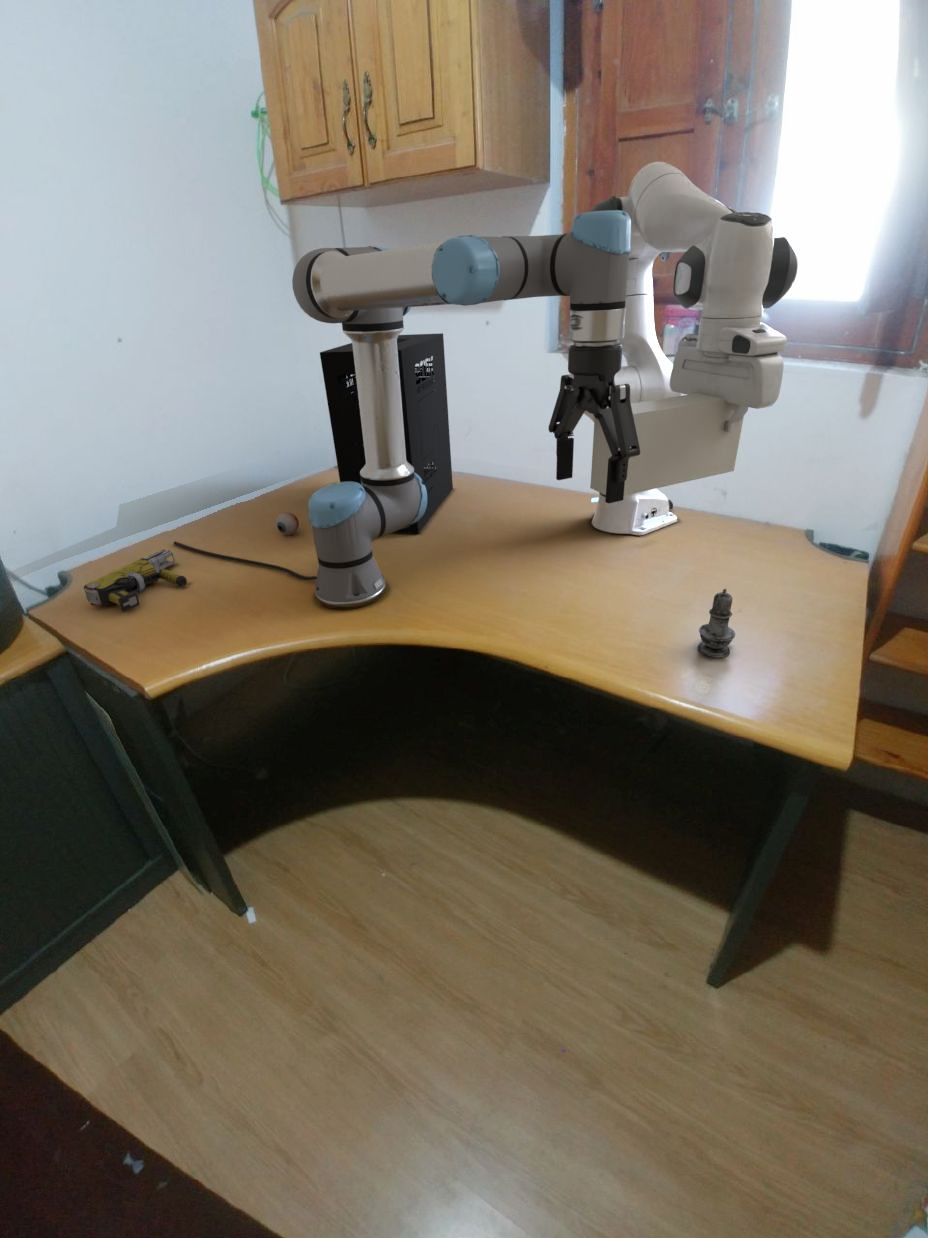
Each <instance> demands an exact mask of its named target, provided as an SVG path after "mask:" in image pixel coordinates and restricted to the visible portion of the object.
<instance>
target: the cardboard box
mask: <svg viewBox="0 0 928 1238" xmlns="http://www.w3.org/2000/svg"><path fill="white" fill-rule="evenodd" d="M397 350H398V362H399V375H400V387H401V400H402V412H403V425H404V437H405V450H406V461H407V462H408V463H409V464H411V465H412V466H413V467H414V472H415V473H416V474H417V475H419V476H420V478H421V479H422V485H425V487H426V491H427V507H426V510H425V512H424V514H423V516H422V517H421V518H420V519H419V520H418V521H417V522H415V523H413V524H411V525H410V526H408V527H407V528H404V529H399V530H397V531H395V532H392V533H393V534H413V535H415V534H416V535H418V534H420V533H421V532H422V530H423V529H424V527H425V526H427V523H428V522H429V521H430V520H431V518H432V517H433V515H434V514H435V513H436V512H437V510H438V509H439V508H440V507H441V505H442V504H443V502H444V501H445V500H446V499H447V498H448V496H449V495H450V494H451V492H452V491H453V489H454V484H453V468H452V454H451V453H452V451H451V438H450V437H451V435H450V420H449V406H448V391H447V390H448V388H447V374H446V357H445V341H444V333H443V332H442V333H415V334H413V333H412V334H400V335H399V336H398V338H397ZM319 358H320V364H321V370H322V377H323V383H324V388H325V396H326V401H327V408H328V415H329V421H330V427H331V434H332V440H333V446H334V453H335V458H336V459H335V460H336V465H337V471H338V478H339V483H340V482H346V481H352V482H357V483H359V484H361V478H360V470H361V469H362V468H363V467H364V466H365V464H366V459H365V450H364V441H363V433H362V424H361V415H360V407H359V398H358V389H357V381H356V372H355V363H354V354H353V346H352V342H349V343H347V344H343V345H339V346H336V347H333V348H330V349H326V350H323V351H320V352H319ZM426 360H427V361H426ZM421 363H422V365H421ZM392 533H391V534H392Z"/></svg>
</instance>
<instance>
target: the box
mask: <svg viewBox="0 0 928 1238" xmlns="http://www.w3.org/2000/svg"><path fill="white" fill-rule="evenodd" d="M631 408H632V413H633V418H634V423H635V427H636V432H637V437H638V442H639V447H640V455H639V456H634V457H630V458H629V460H628V470H627V479H626V481H625V486H624V495H629V494H633V493H638V492H642V491H647V490H651V489H659V488H664V487H669V486H673V485H679V484H682V483H687V482H690V481H695V480H700V479H705V478H709V477H714V476H717V475H723V474H727V473H732V472H734V471H735V467H736V463H737V456H738V450H739V445H740V440H741V434H742V428H743V423H744V418H745V415H744V416H743V418H742V419H741V420H740V422H739V427H738V431H737V432H733V433H730V432H726V431H724V423H725V420H729V419H730V418H731V416H732V414H733V413H734V411H732V410H731V409H732V404H731V403H726V402H724V399H723V398H718V397H713V396H709V395H704V394H699V393H695V394H689V395H687V394H682V396H677V397H671V398H664V399H658V400H652V401H646V402H640V403H634V404H631ZM592 439H593V441H592V452H591V453H592V456H591V470H590V471H591V472H590V489H592V490H594V491H597V492H598V493H599V492H600V493H602V494H605V495H606V486H607V471H608V459H609V458H610V457H611V456H612V454H611V451H610V449H609V446H608V443H607V441H606V438H605V435H604V433H603V430H602V428H601V425H600V422H599V420H598V419H596V418H595V419H594V422H593V438H592ZM630 448H631V447H630ZM618 449H619V451H620V448H618Z"/></svg>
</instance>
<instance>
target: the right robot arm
mask: <svg viewBox="0 0 928 1238" xmlns="http://www.w3.org/2000/svg"><path fill="white" fill-rule="evenodd" d="M608 210H621V211H625V212H626V213H628V215H629V216H630V220H631V230H630V248H631V253H630V255H629V265H628V276H627V288H626V299H625V307H626V310H625V327H624V338H622V339H621V340H619V343H620V344H621V346H623V349H622V356H623V357H624V359H625V361H626V364H627V365H622V366H621V370H620V371H619V372H618V373H616V374H615V376H614V381H615V385H621V384H629V385H630V403H631V404H634V403H640V402H646V401H652V400H658V399H664V398H671V397H677V396H683V395H689V394H695V393H699V394H704V395H709V396H713V397H718V398H723V399H724V402H726V403H731V404H732V409H731V410H732V411H734V413H733V414H732V416H731V418H730V419H729V420H725V423H724V431H726V432H730V433H733V432H737V431H738V427H739V422H740V420H741V419H742V418H743V416H744V417H745V416H746V414H747V413H748V411H749V408H750V409H757V410H758V409H764V408H770V407H772V406H773V405H774V404H775V403H776V402H777V401H778V400H779V396H780V392H781V388H782V381H783V374H784V359H783V356H782V355H781V354H780V353H782V352H784V351H785V350H786V348H787V345H788V337H786V335H784V334H782V333H780V332H779V331H777V330H774V329H773V328H772V327H770V326H768V325H767V324H765V323H763V322H762V320H763V313H764V309H771V308H772V307H773V306H775V304H777V303H778V302H779V301H780V300H781V299H782V298H783V297H785V295H786V294H787V293H788V292H789V291H790V289H791V287H792V286H793V285H794V282H795V280H796V278H797V273H798V266H799V265H798V257H797V254H796V251H795V249H794V247H793V245H792V244H791V243H790V241H789V240H788V239H787V238H786V237H785V236H775V227H774V219H773V218H772V217H771V216H769V215H768V214H766V213H762V212H750V211H743V212H738V210H737V211H736V210H735V209H734V208H732V207H729V206H728V205H726V204H724V203H722V202H720V201H719V200H717V199H715V198H714V197H712V196H711V195H710V194H707V193H706V192H704V191H703V190H702V189H700V188H699V187H698V186H696V185H695V184H694V183H693V182H692V181H691V180H690V179H689V178H688V177H687V175H685V174H684V173H683V171H681V170H680V169H679V168H677V167H675V166H674V165H672V164H670V163H667V162H666V161H665V162H664V161H653V162H650V163H647V164H646V165H644V166H643V167H642V168H641V169H640V170H639V171H637V173H636V174H635V175H634V177H633V179H632V181H631V183H630V186H629V189H628V193H627V196H626V195H625V196H621V197H620V196H619V197H618V196H617V197H616V195H612V196H610V197H609V198H607V199H605V200H602V201H600V202H598V203H596V204H595V205H594V206H593V207H592V208H591V210H590V211H589V212H594V211H608ZM675 253H683V254H682V255H681V256H680V258H679V259H678V261H677V262H676V264H675V269H674V277H673V287H672V288H673V296H674V297H675V299H676V300H677V302H678V303H679V304H680V305H681V306H682V308H684V309H685V310H687V309H688V310H692V311H701V314H700V316H699V317H700V318H699V325H698V332H697V334H694V333H686V334H685V335H684V336H683V337H682V338H681V339H680V340H679V341H678V345H677V350H676V353H675V355H674V359H673V362H671V360H669V359H668V358H667V356H666V355H665V353H664V352H663V350H662V348H661V347H660V344H659V341H658V338H657V333H656V327H655V310H654V286H653V285H654V283H653V265H654V262H655V260H656V259H657V257H659V258H660V260H661V262H666V261H668V260H669V258H670V257H671V255H672V254H675ZM607 408H608V406H607ZM583 415H585V416H586V417H588V418H589V419H590V420H591V421H592V422H593V423H594V419H595V417H594V414H592V413H589V412H588V411H585V412H584V414H583ZM743 419H744V418H743ZM605 500H606V495H605V494H602V493H600V492H598V496H597V497H592V498H591V503H596V507H595V511H594V514H593V517H592V520H591V525H592V526H593V527H594V528H595V529H597V530H599V531H601V532H605V533H611V534H623V535H625V534H626V535H632V536H633V535H634V536H645V535H646V534H650V533H652V532H654V531H657V530H660V529H662V528H665V527H668V526H670V525H672V524H675V523H677V522H678V516H677V515H676V514H675V513H674V512H672V511H670V510H673V509H674V504H673V501H672V500H671V499H669V498H668V497H667V496H666V495H665V494H664V493H663V492H661V491H660V490H659V489H658V488H656V489H651V490H647V491H642V492H638V493H633V494H629V495H624V498H623V500H622V501H618V502H613V503H609V504H608V503H606V502H605Z"/></svg>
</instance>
